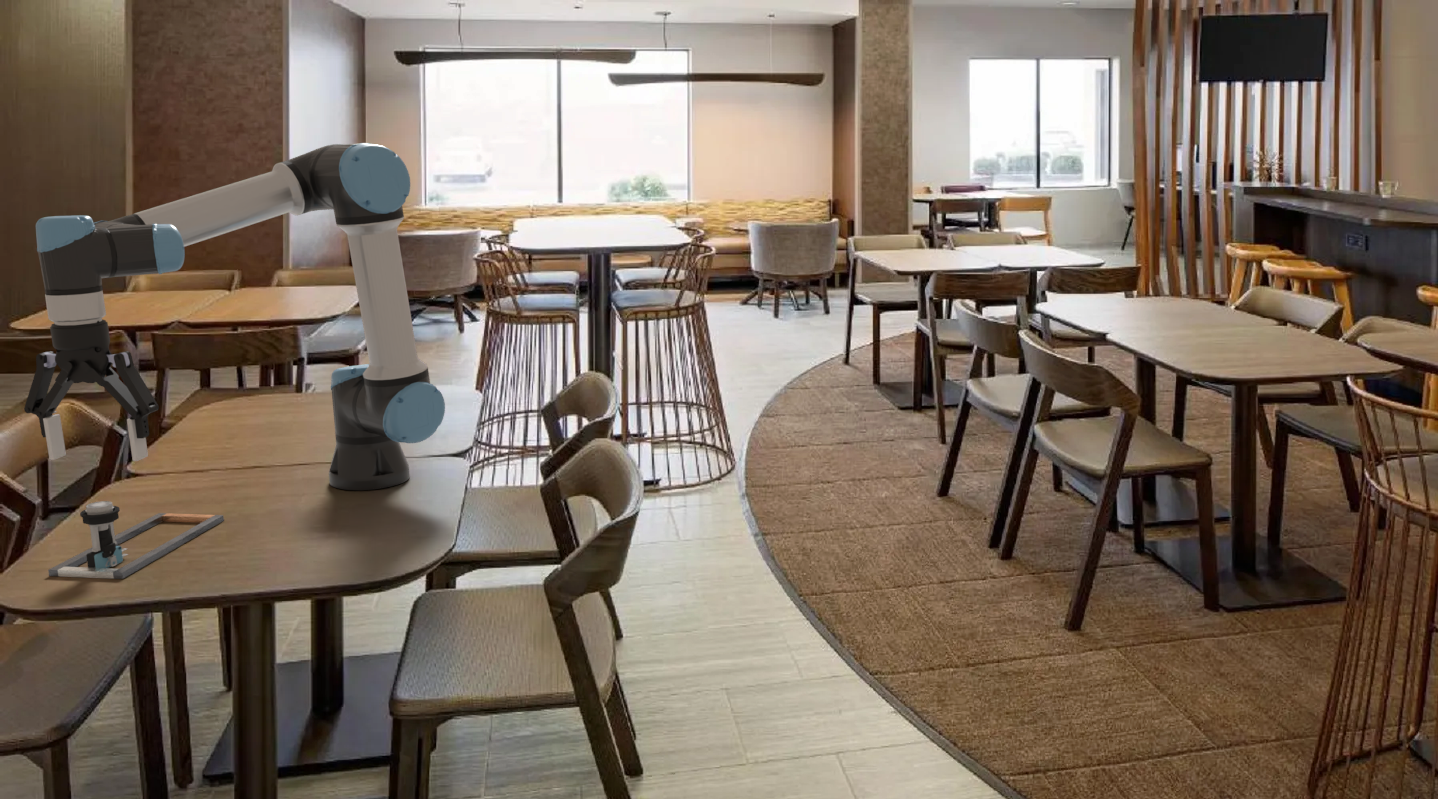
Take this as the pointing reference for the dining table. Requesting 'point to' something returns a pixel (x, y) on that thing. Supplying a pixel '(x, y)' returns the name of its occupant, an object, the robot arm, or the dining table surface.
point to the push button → (102, 534)
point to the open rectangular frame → (206, 522)
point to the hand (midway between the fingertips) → (99, 458)
